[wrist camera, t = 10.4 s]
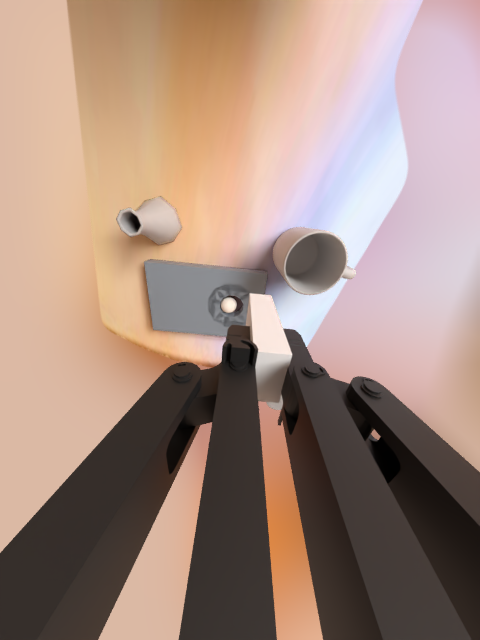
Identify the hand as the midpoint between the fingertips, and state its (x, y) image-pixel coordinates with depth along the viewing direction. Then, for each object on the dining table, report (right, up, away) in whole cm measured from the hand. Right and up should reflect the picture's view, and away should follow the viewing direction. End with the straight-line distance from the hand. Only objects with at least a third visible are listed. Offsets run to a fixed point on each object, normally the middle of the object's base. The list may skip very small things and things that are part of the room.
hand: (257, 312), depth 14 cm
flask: (-15, +17, +20) cm, 30 cm away
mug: (+11, +11, +22) cm, 27 cm away
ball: (-4, +3, +25) cm, 25 cm away
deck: (-8, +4, +26) cm, 27 cm away
